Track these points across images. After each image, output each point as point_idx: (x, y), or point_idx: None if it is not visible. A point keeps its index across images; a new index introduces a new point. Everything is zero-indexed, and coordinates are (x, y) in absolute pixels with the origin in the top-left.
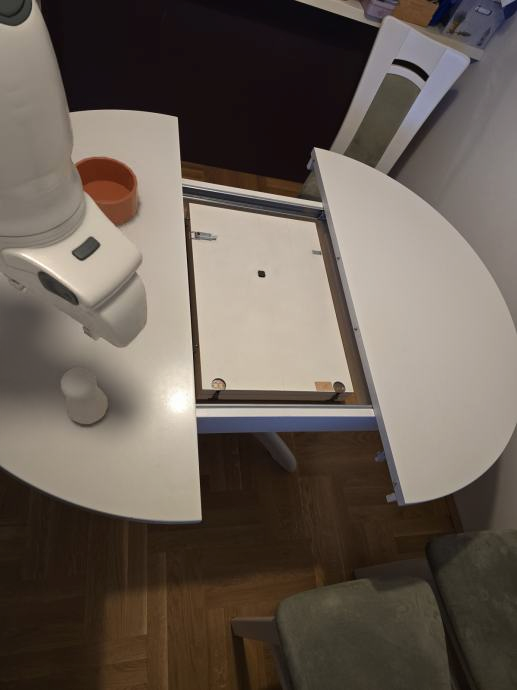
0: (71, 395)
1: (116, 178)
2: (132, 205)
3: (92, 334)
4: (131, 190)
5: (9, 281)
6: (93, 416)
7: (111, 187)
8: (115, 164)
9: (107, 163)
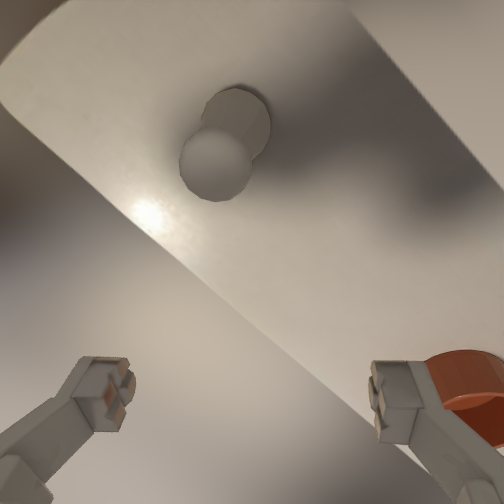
0: (197, 138)
1: (465, 417)
2: None
3: (63, 392)
4: None
5: (429, 385)
6: (202, 118)
7: (464, 402)
8: None
9: (489, 439)
